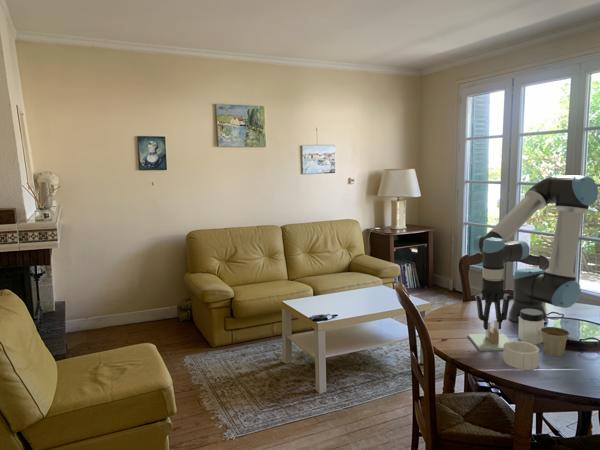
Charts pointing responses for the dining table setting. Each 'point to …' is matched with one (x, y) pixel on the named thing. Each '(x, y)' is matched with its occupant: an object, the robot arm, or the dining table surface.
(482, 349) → the lid
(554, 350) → the flower pot
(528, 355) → the bowl
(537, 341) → the jar
